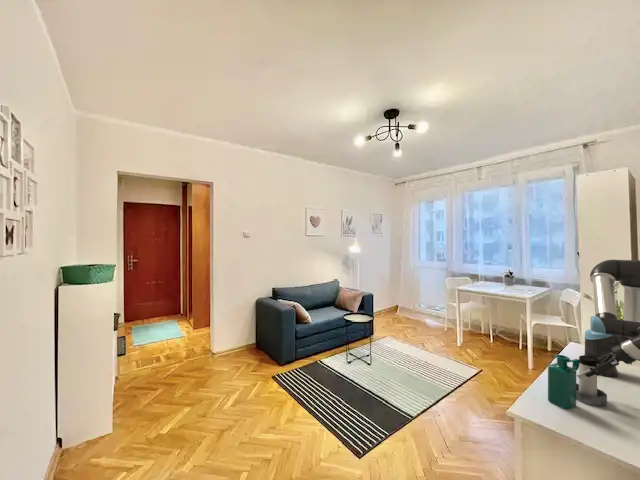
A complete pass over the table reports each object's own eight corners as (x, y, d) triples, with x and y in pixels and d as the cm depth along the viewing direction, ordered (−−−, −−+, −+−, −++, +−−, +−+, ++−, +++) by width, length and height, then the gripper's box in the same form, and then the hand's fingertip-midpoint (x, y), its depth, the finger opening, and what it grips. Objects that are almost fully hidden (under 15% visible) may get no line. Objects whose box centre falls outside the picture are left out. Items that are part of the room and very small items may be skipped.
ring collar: (583, 390, 139) (583, 382, 139) (614, 405, 127) (614, 396, 127) (563, 393, 136) (563, 385, 136) (592, 408, 124) (592, 399, 124)
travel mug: (601, 403, 128) (601, 360, 128) (584, 401, 129) (585, 359, 129) (591, 395, 134) (591, 354, 134) (575, 394, 135) (575, 353, 135)
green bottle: (545, 400, 130) (546, 353, 130) (556, 396, 134) (556, 350, 133) (571, 412, 121) (571, 362, 121) (581, 407, 125) (582, 359, 124)
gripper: (637, 369, 112) (586, 390, 123) (637, 352, 128) (591, 372, 139) (618, 351, 116) (570, 374, 127) (620, 337, 132) (577, 358, 143)
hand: (581, 373), depth 133 cm, fingers open, 13 cm apart
